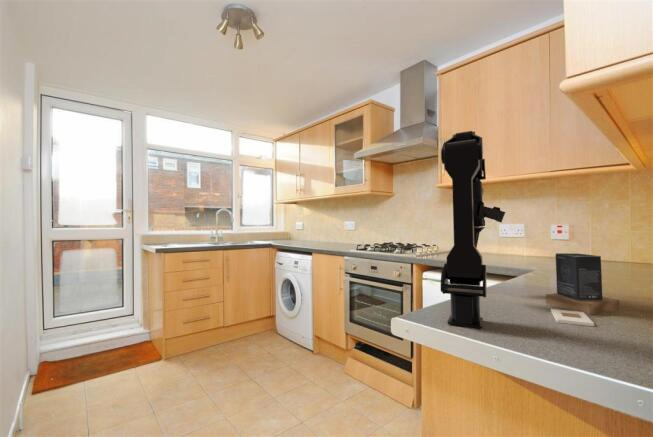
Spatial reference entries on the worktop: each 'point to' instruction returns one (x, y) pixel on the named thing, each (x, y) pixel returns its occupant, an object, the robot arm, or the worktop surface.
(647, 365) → the worktop surface
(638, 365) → the worktop surface
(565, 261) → the box
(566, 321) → the card
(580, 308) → the walnut slab
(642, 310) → the worktop surface
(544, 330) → the worktop surface
